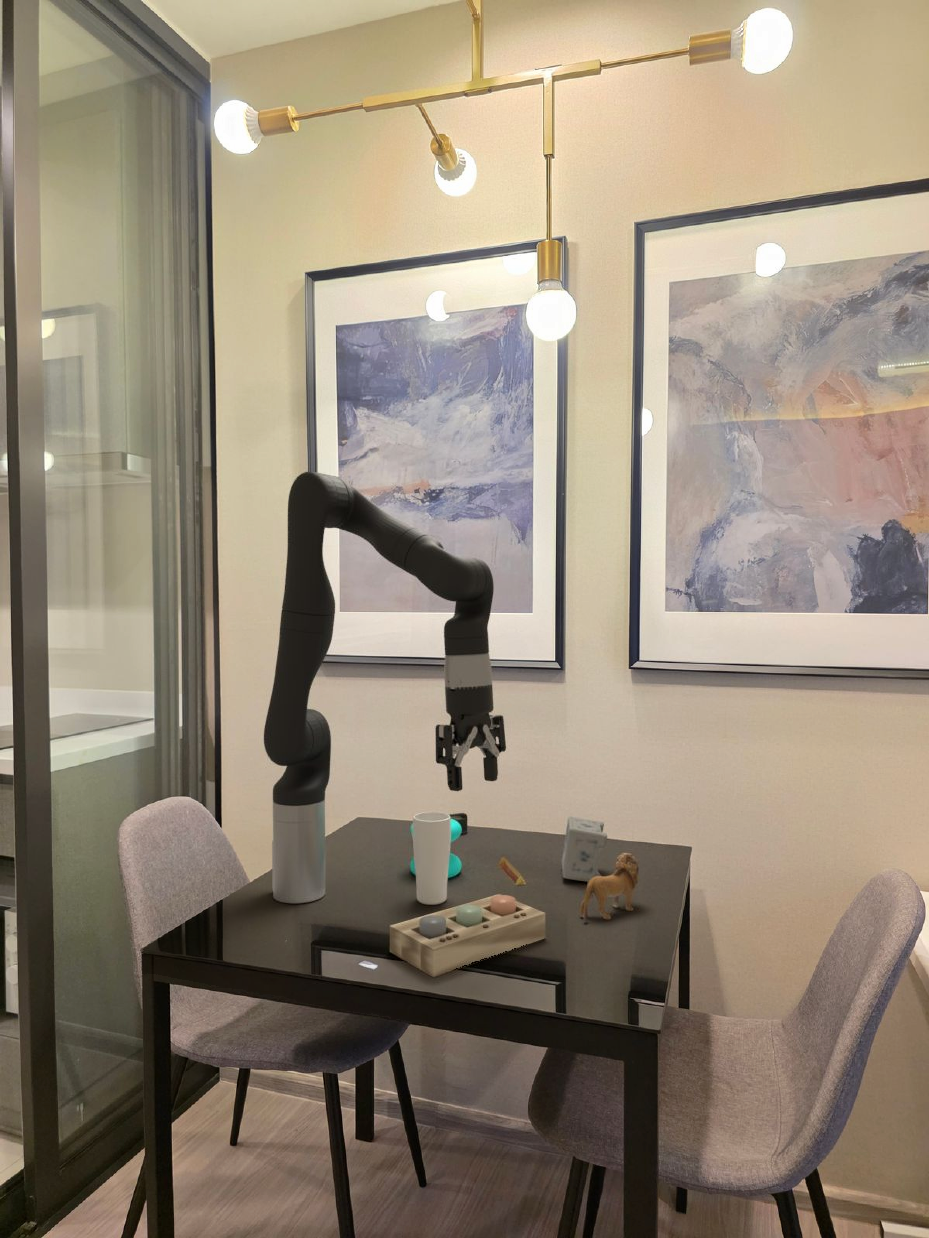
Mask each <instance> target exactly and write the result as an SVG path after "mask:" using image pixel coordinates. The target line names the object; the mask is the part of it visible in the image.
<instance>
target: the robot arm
mask: <svg viewBox="0 0 929 1238" xmlns="http://www.w3.org/2000/svg"><path fill="white" fill-rule="evenodd" d="M325 529H339V530H342V531H345V532H348V533H351V534H354V535H356V536H358V537H359V538H361V539H363V540H364V541H366V542H367V543H369V544H370V545H371V546H372V547H373V549H374V550H375V551H376V552H377V553H378V554H379V555H381V557H383V559H385V560H386V561H388V562H389V563H390V564H392V565H394V566H395V567H398V568H399V569H401V570H402V571H404V572H406V573H408V574H409V575H411V576H413V577H415V578H417V580H418V581H419V582H420V583H421V584H422V585H423V586H425V587H426V589H428V590H430V592H432V593H433V594H434V595H436V596H437V597H440V598H441V599H443V600H445V601H449V602H453V603H454V602H455V607H454V615H453V617H451V618H449V619H448V620H446V621H445V623H444V627H443V639H444V641H443V642H444V666H443V669H444V670H443V672H444V673H443V675H444V678H443V679H444V692H445V693H444V695H445V712H446V713H447V714H448V715H449V716H450V722H449V724H436V725H435V730H434V731H435V762H436V763H437V764H438V765H439V764H440V765H444V766H445V767H446V777H447V778H446V780H447V781H446V782H447V787H448V789H449V790H450V791H452V792H460V791H462V790H463V772H462V766H461V764H462V761H463V760H464V757H465V755H467V754H468V753H469V750H470V749H474V748H476V747H477V748H478V749H480V751H481V753H482V754H483V756H484V757H483V763H482V764H483V779H484V780H485V781H487V782H496V781H497V780H498V775H499V768H498V757H499V756H500V754H501V753H502V752H504V753H505V751H506V749H507V743H506V742H507V741H506V735H505V733H506V732H505V721H504V719H505V718H504V716H503V715H501V714H499V715H497V714H490V713H492V712H493V711H494V691H493V674H492V671H493V670H492V662H491V657H490V648H489V647H490V645H489V644H490V643H489V632H488V625H489V621H490V618H491V611H492V604H493V598H494V597H493V596H494V591H495V590H494V585H495V584H494V579H493V573H492V571H491V568H490V567H489V565H488V564H487V563H486V562H485V561H484V560H483V559H480V558H477V557H466V556H465V557H464V556H458V555H455V554H452V553H450V552H449V551H447V550H445V549H444V547H443V544H442V543H441V542H440V541H439V540H437V539H436V538H434V537H433V536H432V535H429V534H427V533H426V532H424V531H422V530H420V529H419V528H416V527H415V526H413V525H411V524H409V523H407V522H406V521H403V520H402V519H400V518H397V517H396V516H394V515H392V514H390V513H389V512H387V511H386V510H384V509H383V508H381V507H380V506H378V505H377V504H375V503H374V501H372V500H370V499H369V498H368V497H367V496H366V495H364V493H362V492H361V491H360V490H359V489H357V488H356V487H355V486H353V485H352V484H351V483H349V482H348V480H345V479H344V478H342V477H340V476H336V475H331V474H326V473H321V472H316V471H305V472H302V473H300V474H299V475H298V476H296V477H295V479H294V481H293V483H292V485H291V487H290V489H289V494H288V501H287V553H286V554H287V556H286V565H285V566H286V568H285V578H284V579H285V581H284V592H283V600H282V605H281V613H280V624H279V636H278V637H279V639H278V647H277V653H276V655H277V656H276V663H275V670H274V678H273V685H272V690H271V695H270V699H269V704H268V708H267V713H266V717H265V725H264V728H263V729H264V730H263V745H264V751H265V752H266V755H267V757H268V758H269V760H270V761H271V762H272V763H273V764H275V765H277V766H280V767H286V768H285V771H284V772H283V775H282V776H281V777H280V778H279V779H278V780H277V782H275V784H274V785H273V788H272V843H271V847H272V848H271V850H272V851H271V853H272V854H271V855H272V857H271V859H272V861H271V862H272V865H271V867H272V871H271V872H272V876H271V877H272V885H271V886H272V890H271V891H272V892H273V893H272V894H273V895H272V897H273V899H275V901H278V902H280V903H285V904H304V903H305V904H306V903H310V902H313V901H314V902H315V901H317V900H320V899H322V898H323V897H324V896H325V895H326V789H327V787H328V785H329V781H330V776H331V755H332V754H331V753H332V735H331V730H330V729H331V728H330V725H329V722H328V721H327V719H326V717H325V716H324V715H323V713H321V712H320V711H318V710H317V709H314V708H308V703H309V698H310V692H311V689H312V688H311V687H312V686H313V685H312V684H313V682H314V680H315V678H316V675H317V673H318V672H319V669H320V668H321V667H322V664H323V662H324V660H325V658H326V656H327V654H328V651H329V649H330V647H331V643H332V639H333V633H334V626H335V615H336V600H335V599H336V598H335V596H334V592H333V589H332V588H333V587H332V585H331V582H330V579H329V577H328V573H327V570H326V566H325V562H324V554H323V552H324V551H323V549H324V548H323V547H324V538H325V537H324V536H325V531H326V530H325ZM497 739H498V743H497Z"/></svg>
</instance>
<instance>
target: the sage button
mask: <svg viewBox="0 0 929 1238" xmlns="http://www.w3.org/2000/svg"><path fill="white" fill-rule="evenodd" d="M462 905H463V904H462ZM458 906H459V905H458ZM456 923H458V924H460V925H462V926H464V927H466V928H468V927H471V926H474V925H477V924H480V923H482V908H481V907H479V906H475V905H463V906H459V907H458V908H457V909H456Z"/></svg>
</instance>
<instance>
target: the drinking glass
mask: <svg viewBox="0 0 929 1238" xmlns="http://www.w3.org/2000/svg"><path fill="white" fill-rule="evenodd" d="M412 824H413V837H412V841H413V842H412V846H413V847H412V848H413V858H414V862H415V874H416V875H415V883H416V884H415V885H416V887H415V888H416V900H417V901H418V902H419V903H420V904H423V905H429V906H430V905H431V906H435V905H441V904H443V903H444V902H445V901H446V900H447V899H448V880H449V878H448V867H449V856H450V853H451V843H452V842H451V817H450V815H448V813H446V812H441V811H440V812H439V811H425V812H419V813H416V814H414V815H413V817H412Z"/></svg>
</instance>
